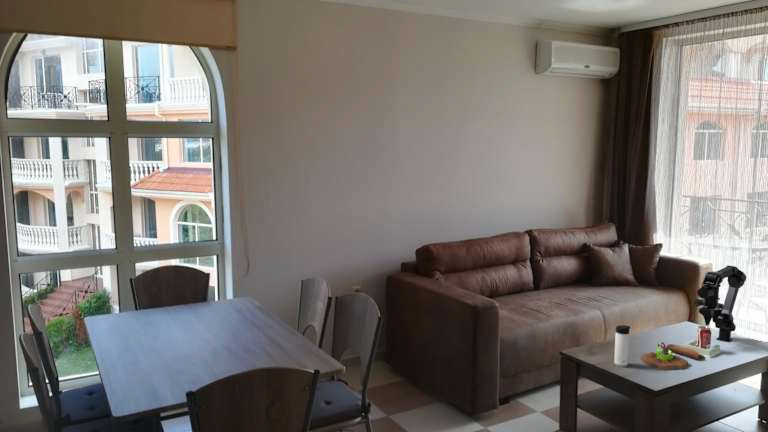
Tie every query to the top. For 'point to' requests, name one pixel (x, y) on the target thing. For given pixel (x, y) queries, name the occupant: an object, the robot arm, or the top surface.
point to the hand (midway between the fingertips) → (710, 323)
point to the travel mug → (621, 346)
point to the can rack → (704, 352)
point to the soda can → (703, 337)
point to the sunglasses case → (686, 352)
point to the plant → (664, 359)
